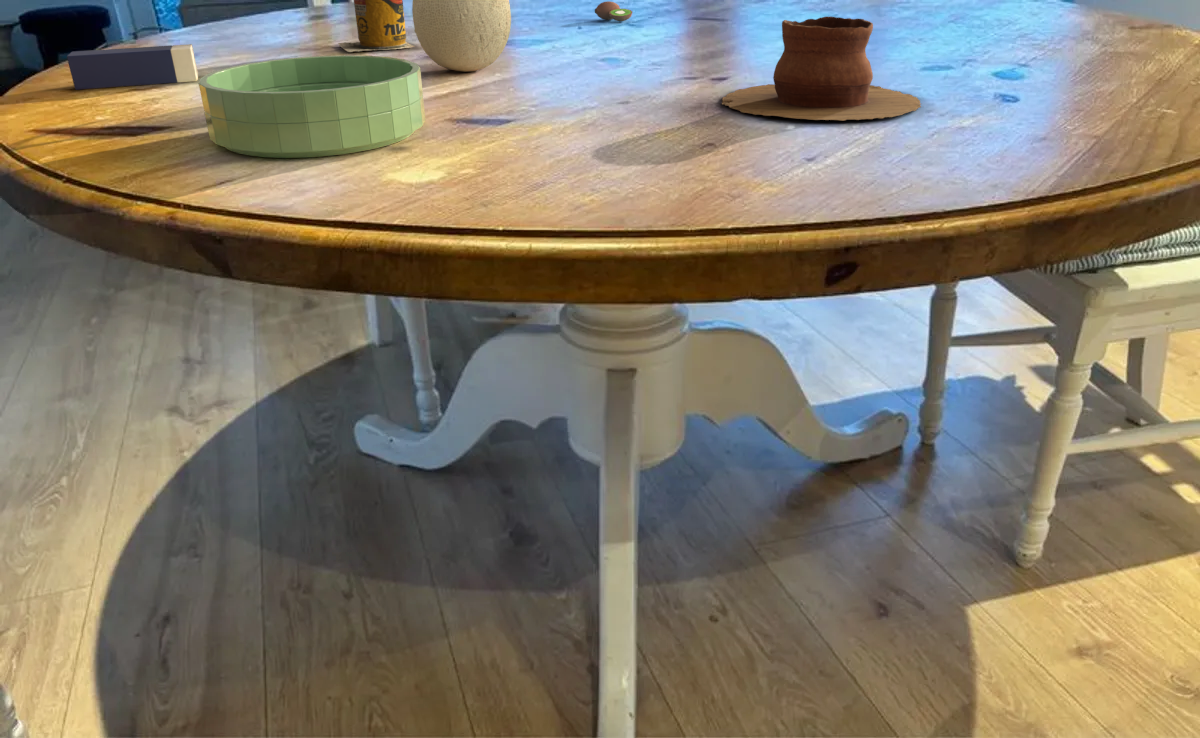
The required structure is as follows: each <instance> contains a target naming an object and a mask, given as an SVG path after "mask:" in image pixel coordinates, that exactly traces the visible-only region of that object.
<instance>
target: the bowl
mask: <svg viewBox="0 0 1200 738" xmlns="http://www.w3.org/2000/svg"><path fill="white" fill-rule="evenodd" d="M198 87H199V92H200V97H201V102H202V107H203V112H204V117H205V122H206V126H207V132H208V137H209V140H210V141H212V142H213V143H214V144H216V145H217V146H221V147H223V148H225V149H226V150H228V151H230V152H233V153H236V154H240V155H243V156H250V157H260V158H272V159H304V158H305V159H306V158H319V157H321V158H322V157H330V156H340V155H348V154H355V153H361V152H365V151H371V150H375V149H380V148H384V147H386V146H391V145H393V144H397V143H399V142H401V141H404V140H406V139H408V138H410V137H411V136H412V135H413V134H414V133H415V132H416V131H418V130H419V129H421V128H422V127H423V126H424V124H425V122H426V113H425V102H424V91H423V82H422V71H421V67H420V66H419V64H418V63H417V62H414V61H410V60H407V59H404V58H398V57H391V56H378V55H351V54H350V55H348V54H347V55H341V54H340V55H320V56H319V55H317V56H315V55H314V56H302V57H300V56H299V57H288V58H279V59H269V60H262V61H255V62H250V63H249V62H248V63H244V64H243V63H242V64H237V65H234V66H228V67H224V68H221V69H218V70H214V71H211V72H209V73H207V74H205V75H203V76H202V77H200V78H199V81H198Z"/></svg>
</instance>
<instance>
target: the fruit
mask: <svg viewBox="0 0 1200 738" xmlns="http://www.w3.org/2000/svg"><path fill="white" fill-rule="evenodd" d="M411 11H412V12H411V13H412V22H413V27H414V33H415V34H416V38H417V39H418V42H419V44H420V46H421V48H422V49H423V51H424V53H425V54H426V55H427V57H428V58H430V60H431V61H433V62H434V63H435V64H437V65H438V66H439V67H442V68H444V69H448V70H451V71H455V72H464V73H465V72H476V71H480V70H483V69H486V68H487V67H489V66H490V65H492V64H494V63H495V62H496V61H497V60H498V58H499V57H500V56H501V54H502V53H503V51H504V49H505V47H506V46H507V43H508V40H509V38H510V35H511V34H510V33H511V26H512V13H511V6H510V0H412V7H411Z"/></svg>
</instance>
